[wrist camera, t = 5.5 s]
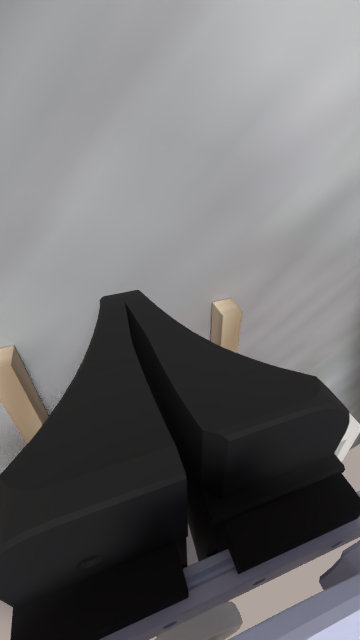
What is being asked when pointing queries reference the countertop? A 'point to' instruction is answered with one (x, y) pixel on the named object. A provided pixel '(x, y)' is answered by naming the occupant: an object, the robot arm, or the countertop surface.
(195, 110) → the countertop surface
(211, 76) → the countertop surface
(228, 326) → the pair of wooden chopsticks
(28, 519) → the robot arm
